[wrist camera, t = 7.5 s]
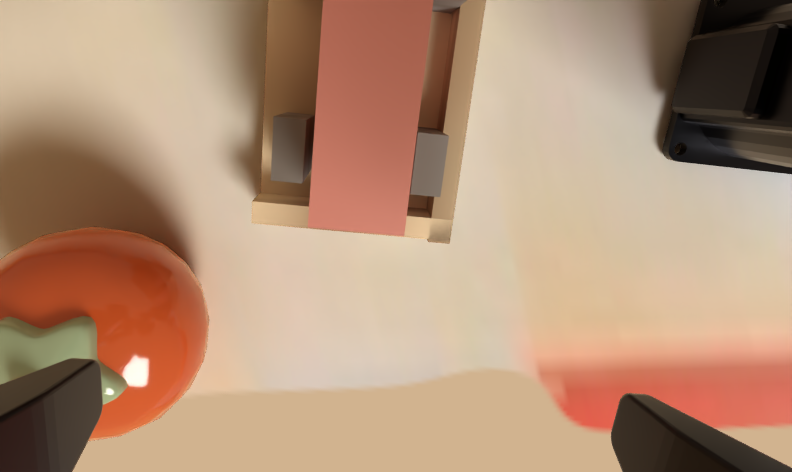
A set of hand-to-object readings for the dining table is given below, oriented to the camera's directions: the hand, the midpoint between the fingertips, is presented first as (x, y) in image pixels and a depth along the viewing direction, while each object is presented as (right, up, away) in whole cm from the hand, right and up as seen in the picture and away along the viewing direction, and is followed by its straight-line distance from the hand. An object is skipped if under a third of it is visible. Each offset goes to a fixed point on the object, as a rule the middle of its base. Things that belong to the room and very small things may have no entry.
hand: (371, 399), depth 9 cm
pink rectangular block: (0, +9, +9) cm, 13 cm away
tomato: (-10, +1, +12) cm, 16 cm away
